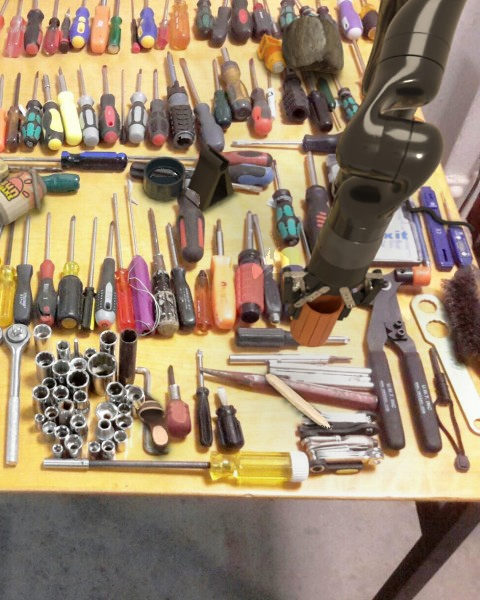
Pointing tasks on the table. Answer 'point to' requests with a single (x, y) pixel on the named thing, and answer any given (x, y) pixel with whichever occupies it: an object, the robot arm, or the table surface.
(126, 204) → the table surface
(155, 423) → the heeled mule
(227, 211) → the table surface
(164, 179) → the big pot
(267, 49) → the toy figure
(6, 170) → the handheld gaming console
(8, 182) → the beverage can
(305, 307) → the small pot
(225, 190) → the phone stand
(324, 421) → the light wooden rod
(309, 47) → the stone
